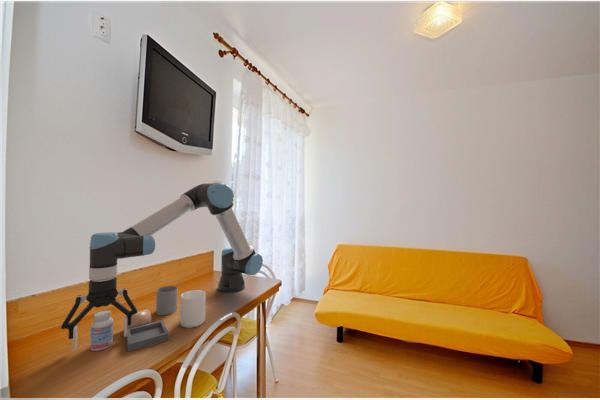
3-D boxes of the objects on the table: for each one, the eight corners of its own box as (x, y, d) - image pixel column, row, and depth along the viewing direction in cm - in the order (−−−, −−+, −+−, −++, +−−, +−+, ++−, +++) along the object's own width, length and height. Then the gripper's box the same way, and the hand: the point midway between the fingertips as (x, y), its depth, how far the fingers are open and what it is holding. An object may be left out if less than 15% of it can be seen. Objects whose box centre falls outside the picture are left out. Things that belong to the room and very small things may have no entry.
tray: (162, 326, 100) (162, 320, 100) (168, 340, 91) (168, 333, 91) (126, 336, 93) (126, 329, 93) (128, 351, 83) (128, 344, 83)
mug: (190, 330, 98) (190, 300, 98) (171, 322, 104) (171, 294, 104) (210, 320, 106) (210, 292, 106) (191, 314, 112) (191, 287, 112)
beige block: (143, 321, 104) (144, 307, 104) (150, 326, 101) (151, 312, 100) (124, 328, 98) (125, 313, 98) (131, 334, 95) (132, 318, 94)
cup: (168, 316, 110) (168, 293, 110) (151, 314, 111) (152, 291, 111) (180, 308, 118) (181, 286, 118) (165, 306, 119) (166, 285, 120)
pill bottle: (87, 353, 82) (88, 318, 82) (93, 343, 88) (94, 311, 88) (110, 349, 85) (110, 315, 85) (114, 340, 90) (115, 308, 90)
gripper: (144, 270, 97) (142, 326, 97) (54, 281, 82) (52, 347, 81) (146, 275, 91) (145, 334, 91) (50, 288, 76) (48, 359, 76)
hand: (101, 341), depth 86 cm, fingers open, 13 cm apart
